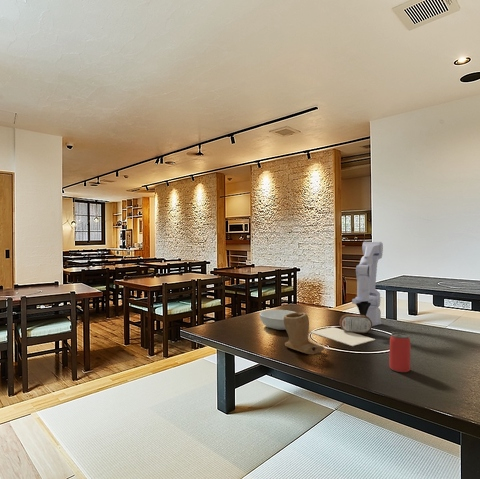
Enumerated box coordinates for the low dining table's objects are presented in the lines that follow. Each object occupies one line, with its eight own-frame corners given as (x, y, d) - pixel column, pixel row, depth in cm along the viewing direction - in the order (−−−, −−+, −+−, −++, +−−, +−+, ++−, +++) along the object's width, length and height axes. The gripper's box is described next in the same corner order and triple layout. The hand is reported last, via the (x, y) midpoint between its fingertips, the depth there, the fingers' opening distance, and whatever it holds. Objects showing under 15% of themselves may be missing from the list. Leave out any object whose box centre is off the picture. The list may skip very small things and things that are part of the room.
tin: (370, 332, 163) (371, 315, 164) (372, 334, 160) (373, 316, 160) (338, 330, 165) (339, 312, 165) (340, 331, 162) (340, 314, 162)
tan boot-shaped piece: (277, 347, 140) (277, 311, 140) (298, 343, 146) (299, 308, 146) (302, 359, 127) (303, 319, 127) (325, 353, 134) (325, 315, 133)
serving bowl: (267, 334, 159) (267, 320, 158) (254, 323, 179) (254, 310, 179) (308, 331, 164) (308, 317, 164) (290, 321, 184) (290, 308, 184)
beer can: (385, 366, 121) (386, 332, 121) (403, 365, 121) (403, 332, 121) (395, 373, 114) (396, 337, 114) (414, 373, 115) (414, 337, 115)
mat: (332, 327, 171) (332, 327, 171) (375, 340, 152) (375, 339, 152) (310, 332, 162) (310, 331, 162) (352, 346, 143) (352, 345, 143)
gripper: (365, 287, 173) (365, 313, 173) (346, 289, 165) (346, 317, 165) (377, 288, 167) (377, 316, 167) (359, 291, 159) (359, 320, 159)
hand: (363, 317), depth 166 cm, fingers closed
